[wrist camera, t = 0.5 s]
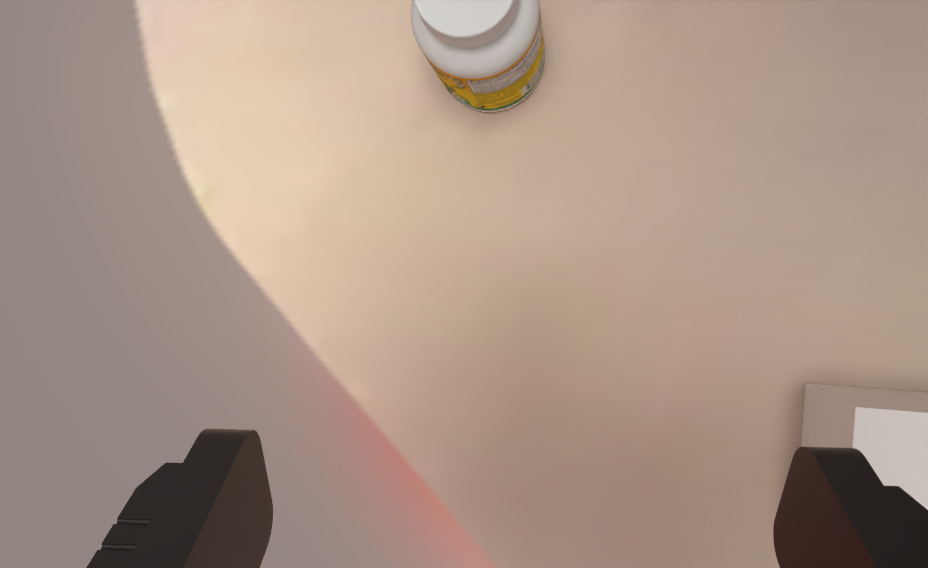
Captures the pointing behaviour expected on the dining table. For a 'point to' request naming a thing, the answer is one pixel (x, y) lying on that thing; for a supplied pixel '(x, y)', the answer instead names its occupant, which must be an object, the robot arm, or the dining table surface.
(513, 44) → the supplement bottle
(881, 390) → the white cube
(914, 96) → the dining table surface
